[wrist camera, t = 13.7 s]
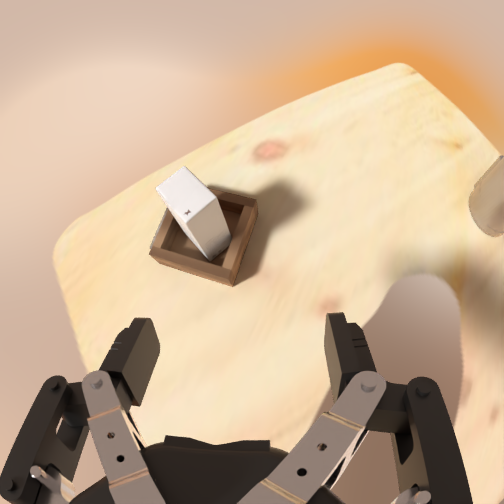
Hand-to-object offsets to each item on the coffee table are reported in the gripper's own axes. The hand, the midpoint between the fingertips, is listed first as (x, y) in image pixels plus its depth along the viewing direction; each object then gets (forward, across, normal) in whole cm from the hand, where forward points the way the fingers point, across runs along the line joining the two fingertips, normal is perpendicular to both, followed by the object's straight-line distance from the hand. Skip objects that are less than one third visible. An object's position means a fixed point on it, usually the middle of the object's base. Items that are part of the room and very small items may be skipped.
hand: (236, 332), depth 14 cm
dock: (+29, +8, +7) cm, 31 cm away
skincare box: (+28, +7, +7) cm, 30 cm away
